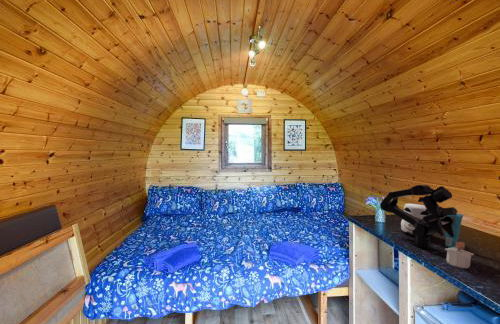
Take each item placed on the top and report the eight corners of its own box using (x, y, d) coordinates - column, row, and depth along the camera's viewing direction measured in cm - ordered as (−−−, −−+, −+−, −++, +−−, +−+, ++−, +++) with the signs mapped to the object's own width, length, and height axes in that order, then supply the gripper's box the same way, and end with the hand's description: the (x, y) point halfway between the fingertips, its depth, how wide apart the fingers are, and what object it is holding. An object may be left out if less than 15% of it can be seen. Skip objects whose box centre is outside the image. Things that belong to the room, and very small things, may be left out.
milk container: (406, 237, 145) (409, 207, 144) (396, 228, 162) (398, 202, 161) (439, 241, 141) (442, 211, 140) (425, 232, 158) (428, 205, 157)
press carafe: (442, 261, 114) (444, 248, 114) (456, 258, 118) (457, 246, 118) (462, 269, 107) (464, 255, 107) (475, 266, 111) (477, 253, 110)
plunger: (447, 260, 114) (449, 240, 113) (454, 259, 116) (456, 240, 115) (461, 265, 109) (463, 245, 108) (468, 264, 111) (470, 244, 110)
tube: (459, 247, 133) (463, 213, 132) (459, 250, 130) (463, 215, 129) (442, 243, 138) (446, 210, 137) (441, 245, 135) (445, 211, 134)
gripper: (437, 197, 117) (455, 229, 108) (457, 202, 125) (476, 232, 116) (415, 206, 125) (430, 237, 116) (436, 210, 133) (451, 239, 124)
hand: (448, 236), depth 118 cm, fingers open, 9 cm apart
